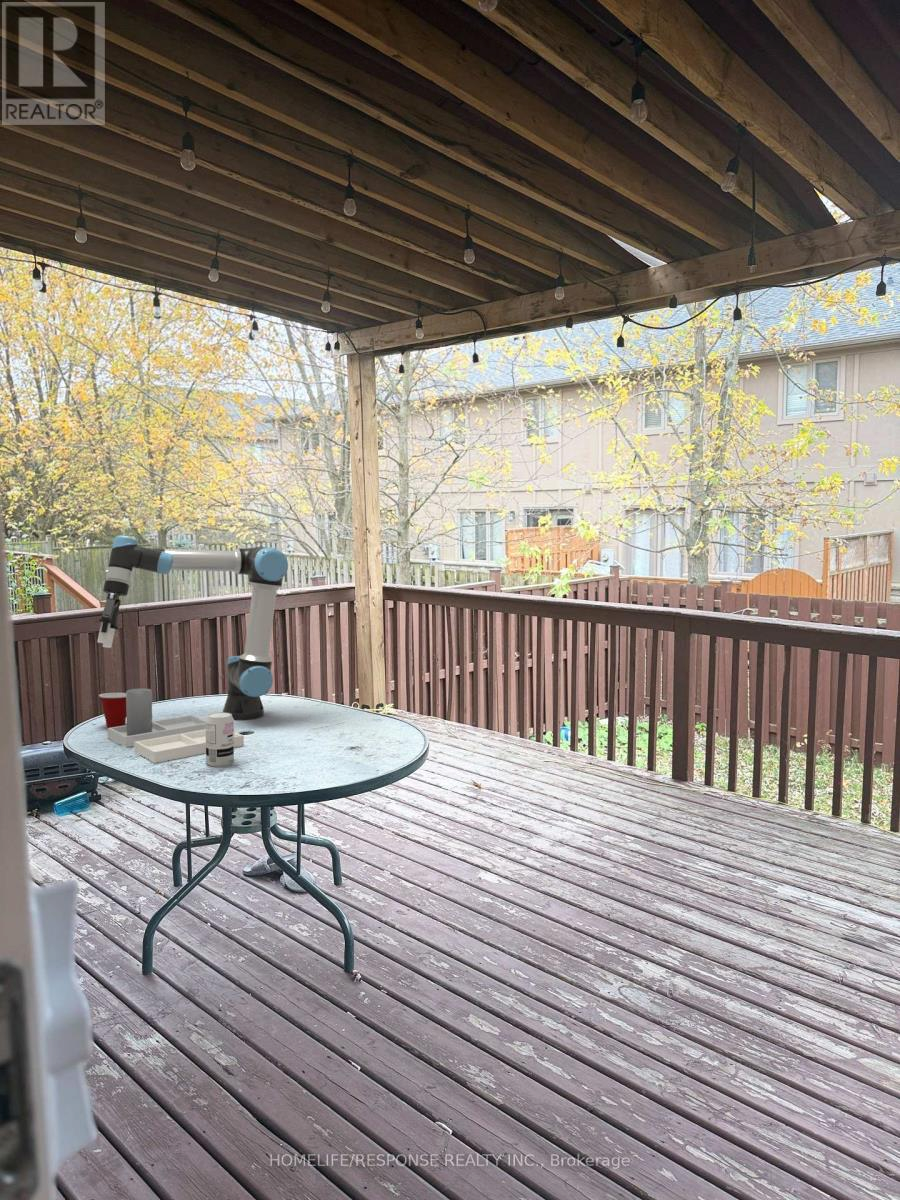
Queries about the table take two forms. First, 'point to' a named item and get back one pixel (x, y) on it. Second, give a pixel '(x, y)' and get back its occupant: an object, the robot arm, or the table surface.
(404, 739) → the table surface
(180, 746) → the tray
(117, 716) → the plastic cup
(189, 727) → the tray
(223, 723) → the supplement can
